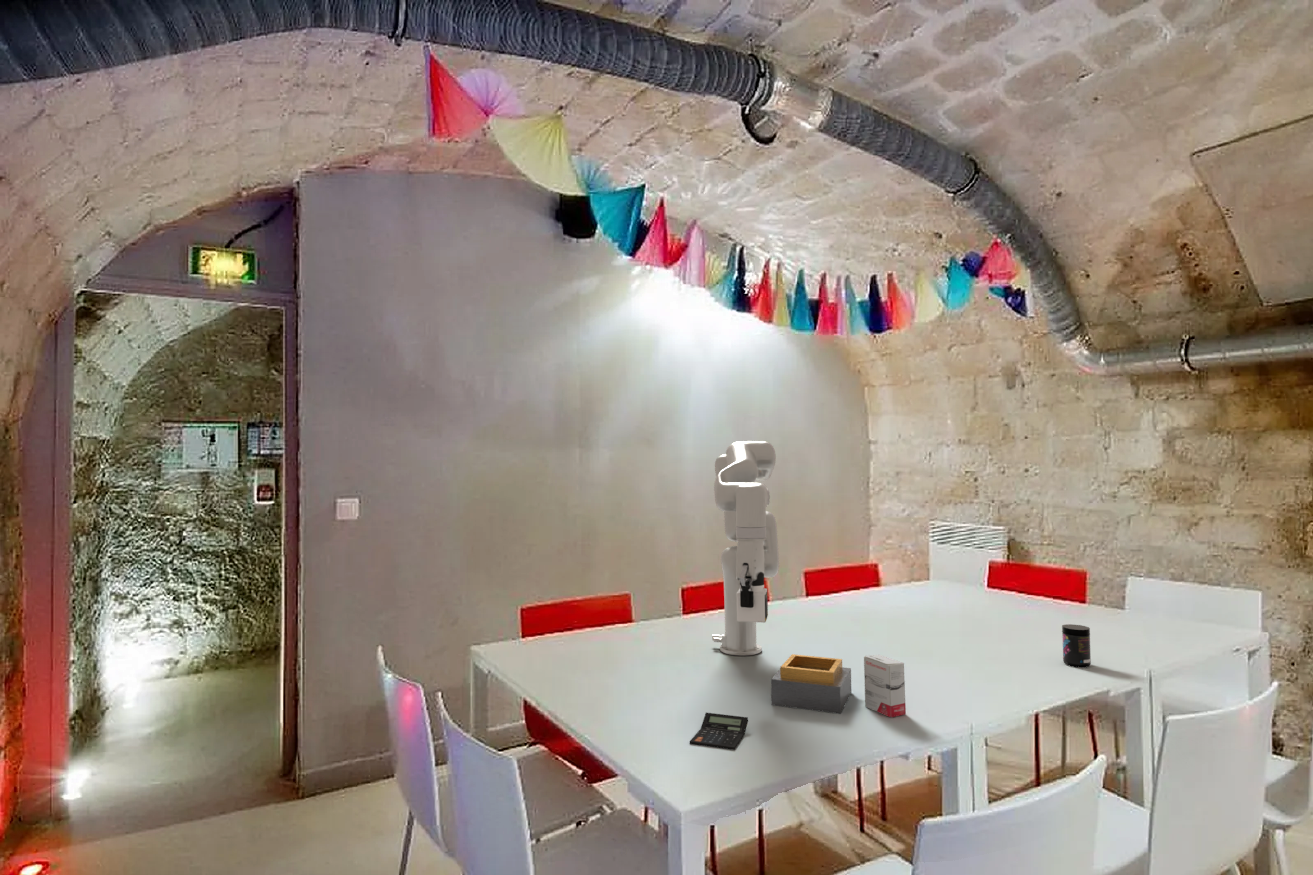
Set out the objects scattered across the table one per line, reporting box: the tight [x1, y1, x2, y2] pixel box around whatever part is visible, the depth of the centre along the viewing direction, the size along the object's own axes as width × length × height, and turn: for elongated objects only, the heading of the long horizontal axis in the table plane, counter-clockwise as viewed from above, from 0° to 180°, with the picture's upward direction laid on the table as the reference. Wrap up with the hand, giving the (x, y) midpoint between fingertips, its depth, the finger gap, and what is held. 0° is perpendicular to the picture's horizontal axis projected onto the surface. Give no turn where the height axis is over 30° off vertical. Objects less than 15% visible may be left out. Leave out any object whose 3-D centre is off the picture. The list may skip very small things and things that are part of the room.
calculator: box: [689, 712, 749, 751], centre depth 149 cm, size 9×12×3 cm
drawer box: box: [770, 653, 852, 715], centre depth 174 cm, size 16×18×8 cm
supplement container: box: [1061, 623, 1092, 668], centre depth 199 cm, size 7×7×10 cm
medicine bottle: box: [736, 572, 769, 624], centre depth 179 cm, size 7×7×12 cm
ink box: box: [863, 654, 907, 718], centre depth 164 cm, size 9×5×12 cm, turn 25°
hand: (752, 603), depth 179 cm, fingers closed on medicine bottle, 8 cm apart
